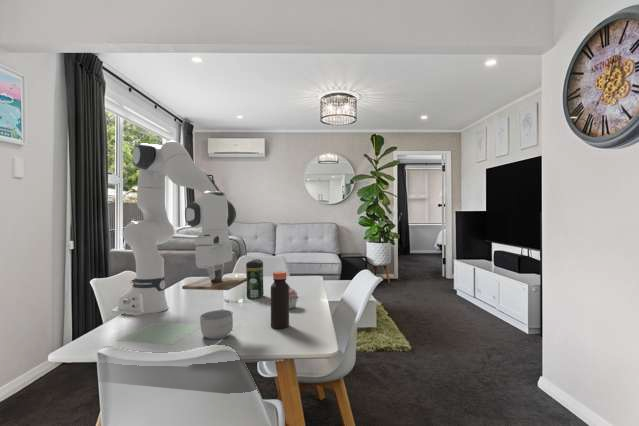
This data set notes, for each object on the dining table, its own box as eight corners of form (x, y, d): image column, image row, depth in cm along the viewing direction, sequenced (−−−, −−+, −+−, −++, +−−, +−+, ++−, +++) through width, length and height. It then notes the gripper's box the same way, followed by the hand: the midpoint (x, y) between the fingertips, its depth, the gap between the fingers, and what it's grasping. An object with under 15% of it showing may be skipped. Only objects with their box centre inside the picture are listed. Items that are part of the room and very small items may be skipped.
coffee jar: (249, 294, 187) (249, 258, 187) (265, 294, 186) (264, 258, 186) (244, 299, 177) (244, 261, 177) (260, 299, 176) (260, 261, 176)
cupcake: (299, 310, 157) (299, 287, 156) (277, 310, 156) (277, 287, 156) (298, 304, 166) (298, 282, 166) (278, 305, 165) (277, 283, 165)
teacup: (223, 343, 117) (223, 318, 117) (193, 341, 119) (193, 317, 119) (241, 329, 131) (241, 307, 131) (213, 328, 133) (213, 306, 133)
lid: (182, 289, 118) (181, 273, 118) (206, 280, 134) (206, 266, 134) (228, 290, 115) (227, 274, 115) (247, 280, 131) (247, 266, 131)
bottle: (284, 330, 130) (284, 274, 130) (267, 328, 132) (267, 273, 132) (292, 324, 137) (291, 271, 136) (275, 322, 139) (275, 270, 139)
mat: (116, 342, 119) (116, 340, 119) (154, 323, 138) (154, 322, 138) (171, 346, 115) (171, 344, 115) (203, 326, 135) (203, 325, 135)
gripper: (220, 235, 136) (221, 272, 136) (191, 239, 116) (192, 283, 116) (236, 235, 134) (237, 273, 134) (209, 239, 114) (210, 283, 114)
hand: (216, 277), depth 125 cm, fingers closed on lid, 4 cm apart
